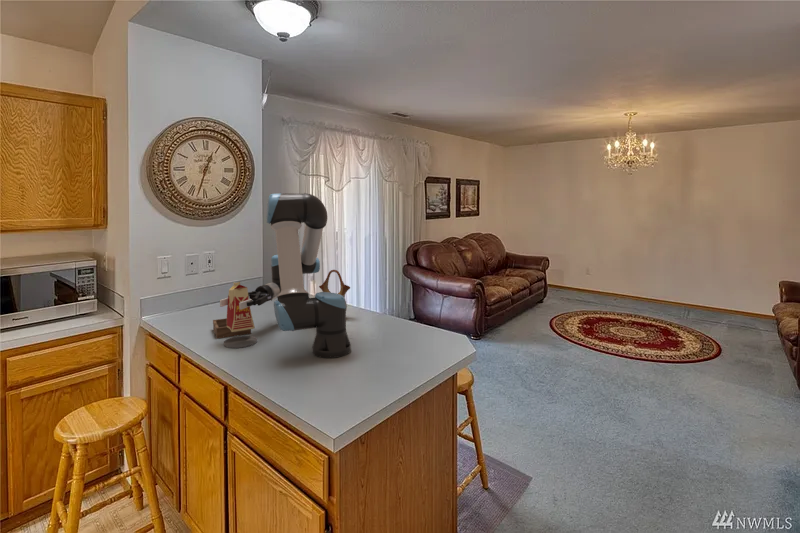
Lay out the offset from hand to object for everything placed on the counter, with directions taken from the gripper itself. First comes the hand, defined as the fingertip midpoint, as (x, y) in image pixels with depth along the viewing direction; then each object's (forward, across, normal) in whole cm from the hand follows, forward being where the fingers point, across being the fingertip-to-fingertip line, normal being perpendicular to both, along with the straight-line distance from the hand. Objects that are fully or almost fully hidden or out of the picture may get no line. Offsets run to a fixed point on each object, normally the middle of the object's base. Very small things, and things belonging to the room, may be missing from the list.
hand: (230, 304), depth 168 cm
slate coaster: (-4, 0, -17) cm, 18 cm away
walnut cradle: (-14, +14, -18) cm, 26 cm away
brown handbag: (-50, -19, -18) cm, 56 cm away
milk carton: (-5, 0, -11) cm, 12 cm away
